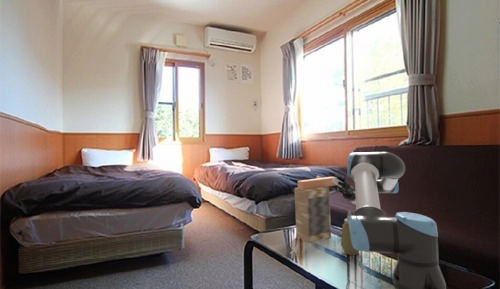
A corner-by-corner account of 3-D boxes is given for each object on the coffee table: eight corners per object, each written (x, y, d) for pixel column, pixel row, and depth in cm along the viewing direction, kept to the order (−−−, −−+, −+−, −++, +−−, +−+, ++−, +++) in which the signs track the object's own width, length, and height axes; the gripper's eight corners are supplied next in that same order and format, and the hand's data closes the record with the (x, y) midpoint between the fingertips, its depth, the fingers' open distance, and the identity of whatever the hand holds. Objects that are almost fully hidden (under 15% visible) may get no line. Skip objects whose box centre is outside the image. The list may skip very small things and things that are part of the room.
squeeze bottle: (363, 256, 120) (361, 213, 120) (342, 256, 122) (340, 213, 121) (359, 249, 128) (357, 208, 128) (340, 249, 129) (338, 208, 129)
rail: (331, 184, 155) (331, 176, 155) (337, 185, 151) (336, 177, 151) (297, 188, 145) (297, 180, 145) (302, 189, 142) (302, 181, 141)
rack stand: (318, 232, 154) (316, 185, 154) (331, 237, 145) (329, 187, 145) (296, 236, 148) (294, 188, 148) (309, 242, 139) (306, 190, 139)
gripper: (368, 205, 147) (339, 188, 139) (334, 197, 169) (307, 182, 160) (372, 191, 149) (344, 173, 140) (339, 186, 170) (312, 170, 162)
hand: (324, 178), depth 150 cm, fingers open, 12 cm apart
